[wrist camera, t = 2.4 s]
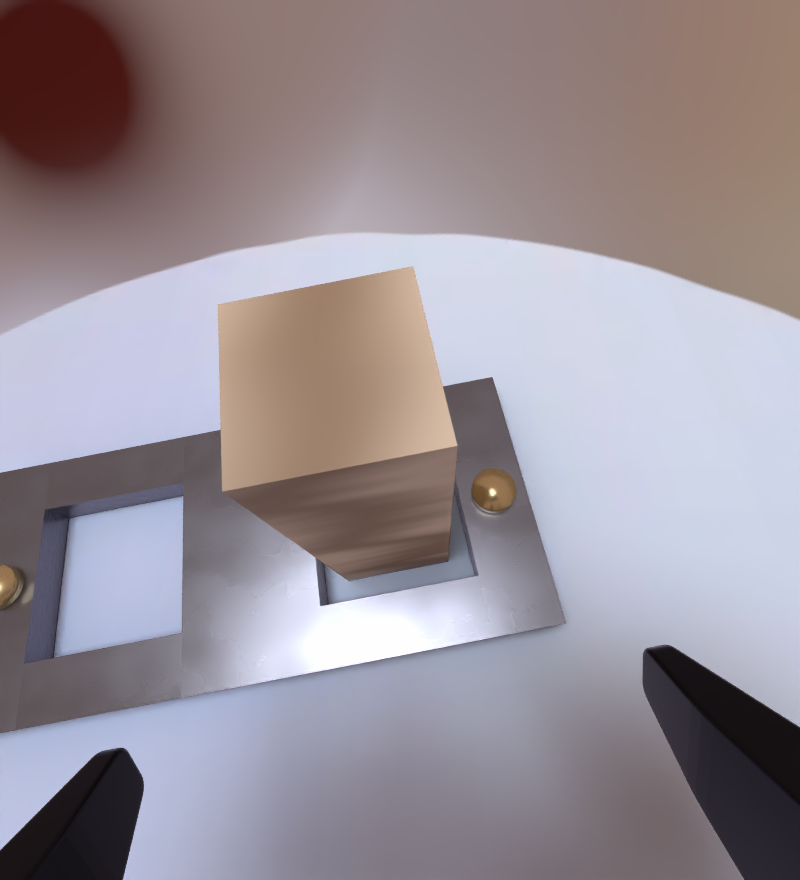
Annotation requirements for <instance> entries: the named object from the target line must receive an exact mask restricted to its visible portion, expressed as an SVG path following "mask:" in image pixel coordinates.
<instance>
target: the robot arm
mask: <svg viewBox="0 0 800 880" xmlns="http://www.w3.org/2000/svg"><path fill="white" fill-rule="evenodd" d="M643 688H644V692H645V695H646V697H647V699H648V702H649V704H650V706H651V708H652V710H653V712H654V714H655V716H656V718H657V720H658V722H659V724H660V726H661V728H662V730H663V732H664V734H665V737H666V739H667V741H668V743H669V745H670V747H671V749H672V751H673V753H674V755H675V757H676V759H677V761H678V763H679V765H680V767H681V769H682V772H683V774H684V776H685V778H686V780H687V782H688V784H689V786H690V788H691V790H692V792H693V794H694V795H695V797H696V799H697V801H698V803H699V804H700V806H701V808H702V810H703V811H704V813H705V815H706V816H707V818H708V820H709V821H710V823H711V825H712V826H713V828H714V830H715V831H716V833H717V835H718V836H719V838H720V840H721V841H722V843H723V845H724V846H725V848H726V850H727V851H728V853H729V855H730V856H731V858H732V860H733V861H734V863H735V865H736V866H737V868H738V870H739V871H740V873H741V875H742V876H743V878H744V880H800V727H799V726H797V725H796V724H794V723H792V722H791V721H789V720H788V719H786V718H785V717H783V716H781V715H780V714H778V713H777V712H775V711H773V710H772V709H770V708H769V707H767V706H766V705H764V704H762V703H761V702H759V701H758V700H756V699H755V698H753V697H751V696H750V695H748V694H747V693H745V692H744V691H742V690H740V689H739V688H737V687H736V686H734V685H732V684H731V683H729V682H728V681H726V680H725V679H723V678H721V677H720V676H718V675H717V674H715V673H714V672H712V671H710V670H709V669H707V668H706V667H704V666H702V665H701V664H699V663H698V662H696V661H695V660H693V659H691V658H690V657H688V656H687V655H685V654H684V653H682V652H680V651H679V650H677V649H676V648H674V647H672V646H669V645H660V646H655V647H650V648H647V649H645V650H644V652H643ZM143 791H144V781H143V777H142V775H141V773H140V771H139V770H138V768H137V766H136V764H135V763H134V761H133V759H132V757H131V756H130V754H129V752H128V751H127V750H126V749H124V748H116V749H111V750H105V751H102V752H99V753H98V754H96V755H95V756H94V757H93V758H91V760H90V761H89V762H88V763H87V764H86V765H85V766H84V767H83V768H82V769H81V770H80V771H79V772H78V773H77V774H76V775H75V776H74V777H73V778H72V779H71V780H70V781H69V782H68V783H67V784H66V785H65V786H64V787H63V788H62V789H61V790H60V791H59V792H58V793H57V794H56V795H55V796H54V797H53V798H52V799H51V800H50V801H49V802H48V803H47V804H46V805H45V806H44V807H43V808H42V809H41V810H40V811H39V812H38V813H37V814H36V815H35V816H34V817H33V818H32V819H31V820H30V821H29V822H28V823H27V824H26V825H25V826H24V827H23V828H22V829H21V830H20V831H19V832H18V833H17V834H16V835H15V836H14V837H13V838H12V839H11V840H10V841H9V842H8V843H7V844H6V845H5V846H4V847H3V848H2V849H1V850H0V880H123V877H124V873H125V868H126V864H127V860H128V856H129V851H130V847H131V843H132V839H133V835H134V830H135V826H136V822H137V818H138V814H139V809H140V805H141V801H142V797H143Z"/></svg>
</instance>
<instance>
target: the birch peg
mask: <svg viewBox="0 0 800 880" xmlns="http://www.w3.org/2000/svg"><path fill="white" fill-rule="evenodd" d="M218 330H219V374H220V418H221V463H222V492H223V493H225V494H226V495H228V496H229V497H230V498H232V499H233V500H235V501H236V502H238V503H239V504H240V505H242V506H243V507H245V508H246V509H247V510H249V511H250V512H252V513H253V514H255V515H256V516H257V517H259V518H260V519H262V520H263V521H264V522H266V523H267V524H269V525H270V526H272V527H273V528H274V529H276V530H277V531H279V532H280V533H281V534H283V535H284V536H286V537H287V538H289V539H290V540H291V541H293V542H294V543H296V544H297V545H298V546H300V547H301V548H303V549H304V550H306V551H307V552H308V553H310V554H311V555H313V556H314V557H315V558H317V559H318V560H320V561H321V562H323V563H324V564H325V565H327V566H328V567H330V568H331V569H332V570H334V571H335V572H337V573H338V574H340V575H341V576H342V577H344V578H345V579H347V580H348V581H350V580H355V579H360V578H366V577H371V576H376V575H381V574H386V573H391V572H396V571H402V570H407V569H412V568H417V567H422V566H427V565H433V564H438V563H443V562H448V554H449V542H450V530H451V518H452V506H453V494H454V482H455V470H456V458H457V442H456V438H455V434H454V430H453V426H452V422H451V418H450V414H449V410H448V405H447V401H446V397H445V393H444V389H443V385H442V381H441V377H440V373H439V369H438V365H437V361H436V357H435V353H434V349H433V345H432V341H431V337H430V333H429V329H428V325H427V321H426V317H425V313H424V309H423V304H422V300H421V296H420V292H419V288H418V284H417V280H416V276H415V272H414V268H413V267H407V268H402V269H397V270H392V271H387V272H382V273H377V274H372V275H366V276H361V277H356V278H351V279H346V280H341V281H336V282H331V283H325V284H320V285H315V286H310V287H305V288H300V289H295V290H290V291H284V292H279V293H274V294H269V295H264V296H259V297H254V298H249V299H243V300H238V301H233V302H228V303H223V304H218Z"/></svg>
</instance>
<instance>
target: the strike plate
mask: <svg viewBox="0 0 800 880" xmlns="http://www.w3.org/2000/svg"><path fill="white" fill-rule="evenodd" d="M443 389H444V393H445V397H446V401H447V405H448V410H449V414H450V418H451V422H452V426H453V430H454V434H455V438H456V442H457V458H456V470H455V482H454V489H455V493H456V497H457V502H458V506H459V510H460V514H461V519H462V523H463V527H464V532H465V536H466V540H467V544H468V549H469V553H470V557H471V561H472V566H473V570H474V574H475V576H474V577H469V578H464V579H458V580H453V581H448V582H443V583H438V584H433V585H428V586H422V587H417V588H412V589H407V590H402V591H397V592H392V593H386V594H381V595H376V596H371V597H366V598H361V599H355V600H350V601H345V602H340V603H335V604H330V605H328V600H327V591H326V582H325V572H324V563H323V562H321V561H320V560H318V559H317V558H315V557H314V556H313V555H311V554H310V553H308V552H307V551H306V550H304V549H303V548H301V547H300V546H298V545H297V544H296V543H294V542H293V541H291V540H290V539H289V538H287V537H286V536H284V535H283V534H281V533H280V532H279V531H277V530H276V529H274V528H273V527H272V526H270V525H269V524H267V523H266V522H264V521H263V520H262V519H260V518H259V517H257V516H256V515H255V514H253V513H252V512H250V511H249V510H247V509H246V508H245V507H243V506H242V505H240V504H239V503H238V502H236V501H235V500H233V499H232V498H230V497H229V496H228V495H226V494H225V493H223V492H222V463H221V430H218V431H213V432H208V433H203V434H198V435H193V436H187V437H182V438H177V439H172V440H167V441H162V442H157V443H151V444H146V445H141V446H136V447H131V448H126V449H121V450H115V451H110V452H105V453H100V454H95V455H90V456H85V457H80V458H74V459H69V460H64V461H59V462H54V463H49V464H44V465H38V466H33V467H28V468H23V469H18V470H13V471H8V472H3V473H0V733H3V732H8V731H13V730H19V729H24V728H29V727H34V726H39V725H44V724H50V723H55V722H60V721H65V720H70V719H75V718H81V717H86V716H91V715H96V714H101V713H106V712H111V711H117V710H122V709H127V708H132V707H137V706H142V705H148V704H153V703H158V702H163V701H168V700H173V699H178V698H184V697H189V696H194V695H199V694H204V693H209V692H215V691H220V690H225V689H230V688H235V687H240V686H246V685H251V684H256V683H261V682H266V681H271V680H276V679H282V678H287V677H292V676H297V675H302V674H307V673H313V672H318V671H323V670H328V669H333V668H338V667H343V666H349V665H354V664H359V663H364V662H369V661H374V660H380V659H385V658H390V657H395V656H400V655H405V654H411V653H416V652H421V651H426V650H431V649H436V648H441V647H447V646H452V645H457V644H462V643H467V642H472V641H478V640H483V639H488V638H493V637H498V636H503V635H509V634H514V633H519V632H524V631H529V630H534V629H539V628H545V627H550V626H555V625H560V624H565V623H566V621H565V618H564V614H563V611H562V608H561V604H560V601H559V598H558V594H557V591H556V588H555V584H554V581H553V578H552V574H551V571H550V568H549V564H548V561H547V558H546V554H545V551H544V548H543V544H542V541H541V538H540V534H539V531H538V528H537V524H536V521H535V518H534V514H533V511H532V508H531V504H530V501H529V498H528V494H527V491H526V488H525V484H524V481H523V478H522V474H521V471H520V468H519V464H518V461H517V458H516V454H515V451H514V448H513V444H512V441H511V438H510V434H509V431H508V428H507V424H506V421H505V418H504V414H503V411H502V408H501V404H500V401H499V398H498V394H497V391H496V388H495V384H494V381H493V378H492V377H490V378H485V379H480V380H475V381H470V382H465V383H460V384H454V385H449V386H444V387H443ZM179 496H184V498H183V580H182V633H180V634H175V635H170V636H165V637H160V638H155V639H149V640H144V641H139V642H134V643H129V644H124V645H119V646H113V647H108V648H103V649H98V650H93V651H88V652H82V653H77V654H72V655H67V656H62V657H57V658H53V651H54V643H55V634H56V625H57V616H58V607H59V599H60V590H61V581H62V572H63V564H64V555H65V546H66V537H67V529H68V520H69V518H71V517H76V516H81V515H86V514H91V513H96V512H101V511H107V510H112V509H117V508H122V507H127V506H132V505H137V504H143V503H148V502H153V501H158V500H163V499H168V498H173V497H179Z"/></svg>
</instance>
